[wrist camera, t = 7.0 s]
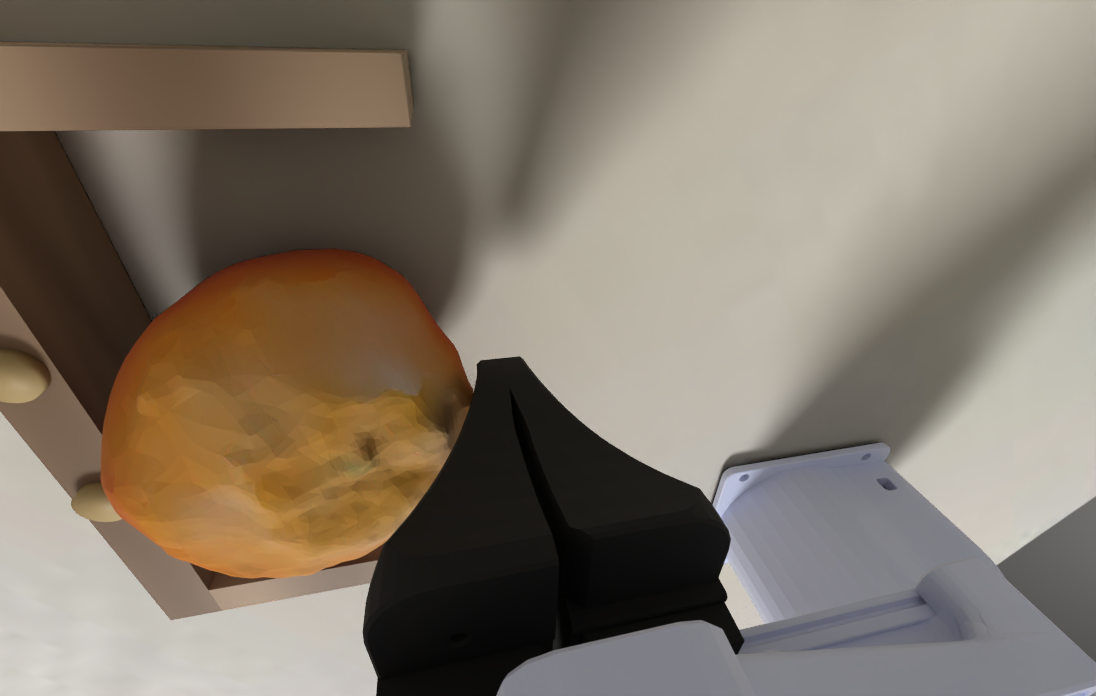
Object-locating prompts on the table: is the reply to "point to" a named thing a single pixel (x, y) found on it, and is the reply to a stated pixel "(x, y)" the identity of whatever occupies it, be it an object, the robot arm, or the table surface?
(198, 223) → the table surface
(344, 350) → the fruit
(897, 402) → the table surface
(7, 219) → the walnut bay
